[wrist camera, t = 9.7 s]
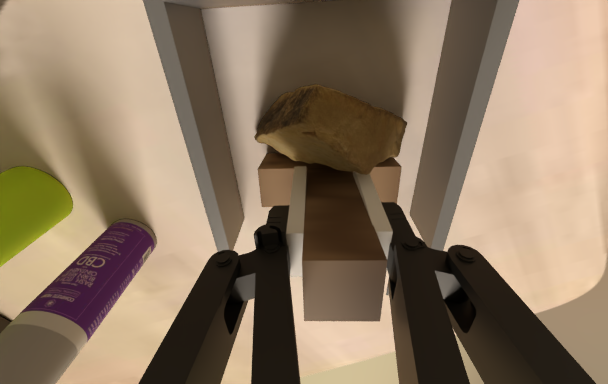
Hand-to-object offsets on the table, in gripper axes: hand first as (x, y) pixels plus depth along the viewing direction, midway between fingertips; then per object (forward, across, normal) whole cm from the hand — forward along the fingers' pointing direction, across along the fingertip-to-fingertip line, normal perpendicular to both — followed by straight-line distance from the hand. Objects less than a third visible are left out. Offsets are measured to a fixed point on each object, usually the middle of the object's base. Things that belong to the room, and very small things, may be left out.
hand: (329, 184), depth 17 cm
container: (+6, -20, -9) cm, 23 cm away
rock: (+6, 0, +2) cm, 6 cm away
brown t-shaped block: (+5, 0, -2) cm, 6 cm away
